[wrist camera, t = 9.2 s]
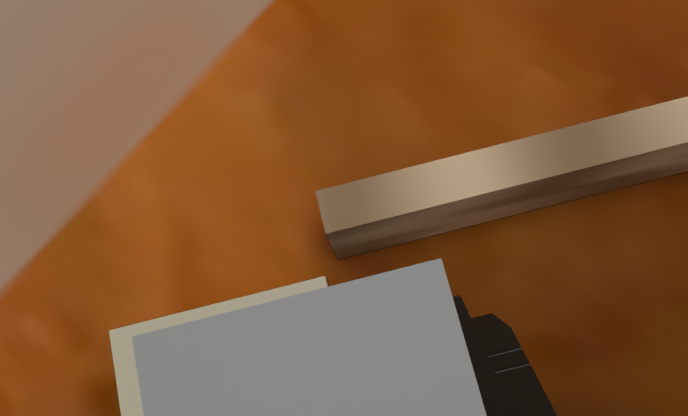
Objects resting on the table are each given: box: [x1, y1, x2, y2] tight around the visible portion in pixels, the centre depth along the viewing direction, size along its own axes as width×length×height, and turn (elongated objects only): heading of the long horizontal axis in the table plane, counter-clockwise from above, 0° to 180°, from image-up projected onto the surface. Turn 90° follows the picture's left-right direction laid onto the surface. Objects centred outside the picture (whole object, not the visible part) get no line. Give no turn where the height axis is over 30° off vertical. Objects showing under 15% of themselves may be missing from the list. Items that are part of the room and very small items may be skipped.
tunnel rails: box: [315, 97, 688, 259], centre depth 18 cm, size 14×11×4 cm
